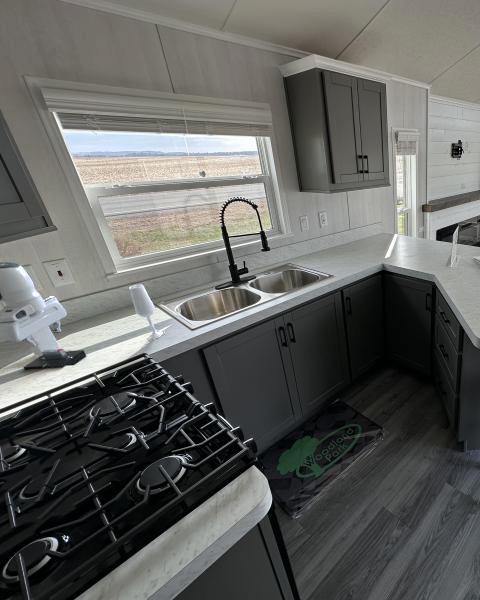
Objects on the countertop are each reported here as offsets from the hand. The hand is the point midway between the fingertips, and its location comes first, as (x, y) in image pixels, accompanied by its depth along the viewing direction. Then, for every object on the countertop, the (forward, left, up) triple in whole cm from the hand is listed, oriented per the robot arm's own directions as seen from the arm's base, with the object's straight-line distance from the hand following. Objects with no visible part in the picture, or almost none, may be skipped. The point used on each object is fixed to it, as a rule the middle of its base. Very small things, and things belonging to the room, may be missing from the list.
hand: (46, 338), depth 123 cm
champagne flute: (+25, +19, -12) cm, 33 cm away
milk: (-13, +9, -12) cm, 20 cm away
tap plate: (-1, 0, -12) cm, 12 cm away
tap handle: (0, 0, -9) cm, 9 cm away
